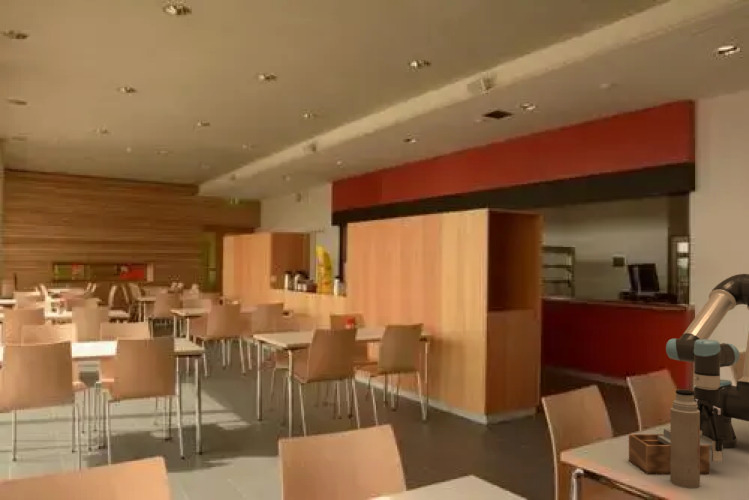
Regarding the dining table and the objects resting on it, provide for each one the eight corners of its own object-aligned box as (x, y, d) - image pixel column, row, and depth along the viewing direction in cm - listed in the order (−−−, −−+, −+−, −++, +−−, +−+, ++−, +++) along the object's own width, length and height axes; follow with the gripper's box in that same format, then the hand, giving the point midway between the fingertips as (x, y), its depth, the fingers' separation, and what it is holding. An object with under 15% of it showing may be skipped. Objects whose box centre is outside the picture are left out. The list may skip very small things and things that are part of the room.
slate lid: (704, 440, 205) (704, 428, 205) (722, 449, 195) (722, 437, 195) (657, 440, 205) (657, 428, 205) (673, 449, 194) (673, 437, 194)
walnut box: (687, 461, 206) (687, 434, 206) (709, 474, 193) (709, 445, 193) (628, 461, 206) (628, 434, 206) (647, 474, 193) (647, 445, 193)
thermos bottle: (700, 481, 187) (700, 390, 187) (698, 490, 180) (698, 394, 180) (672, 476, 191) (672, 387, 191) (668, 484, 184) (669, 391, 185)
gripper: (677, 380, 212) (677, 444, 211) (716, 394, 189) (716, 466, 188) (698, 380, 212) (698, 444, 211) (740, 394, 189) (740, 466, 189)
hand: (706, 455), depth 200 cm, fingers closed on slate lid, 10 cm apart
